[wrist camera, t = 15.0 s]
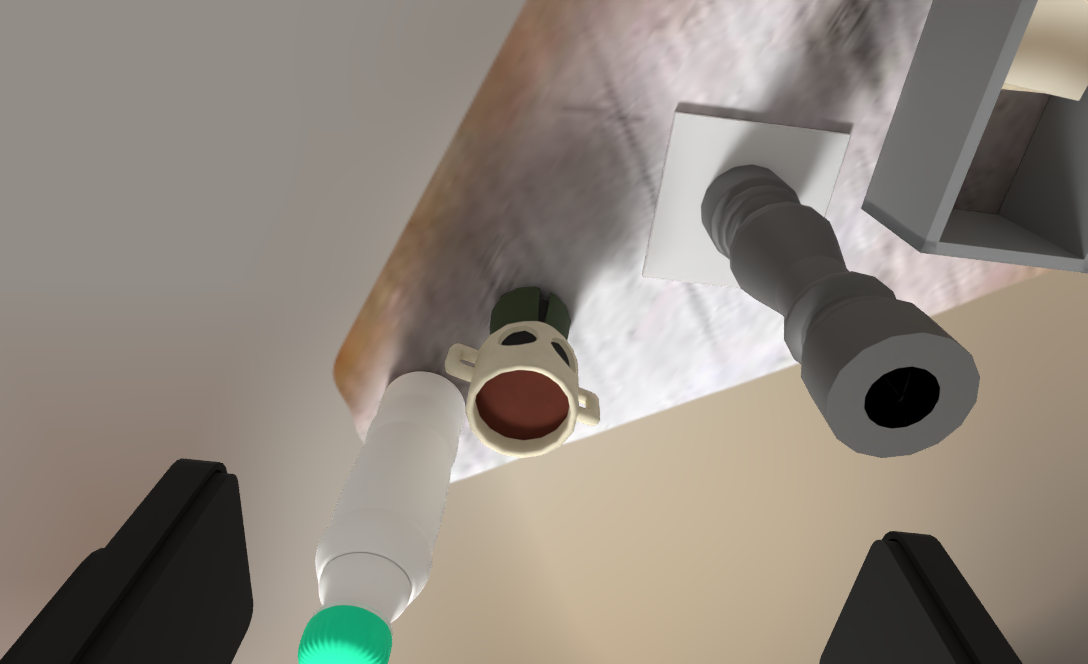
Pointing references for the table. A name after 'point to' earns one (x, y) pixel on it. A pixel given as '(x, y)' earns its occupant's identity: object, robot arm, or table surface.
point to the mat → (708, 153)
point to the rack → (953, 137)
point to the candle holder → (840, 321)
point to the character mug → (524, 377)
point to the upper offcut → (1054, 50)
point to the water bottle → (385, 522)
